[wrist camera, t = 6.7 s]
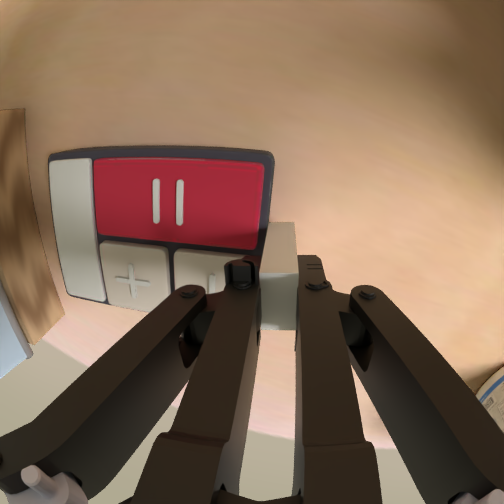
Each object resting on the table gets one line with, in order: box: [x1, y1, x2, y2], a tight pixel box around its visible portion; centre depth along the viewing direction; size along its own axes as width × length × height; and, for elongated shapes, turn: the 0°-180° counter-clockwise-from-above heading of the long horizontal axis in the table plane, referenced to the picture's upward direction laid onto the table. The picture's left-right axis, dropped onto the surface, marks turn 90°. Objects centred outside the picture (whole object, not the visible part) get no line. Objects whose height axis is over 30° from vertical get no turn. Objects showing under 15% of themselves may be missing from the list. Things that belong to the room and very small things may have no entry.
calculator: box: [48, 146, 275, 312], centre depth 18 cm, size 11×4×15 cm
